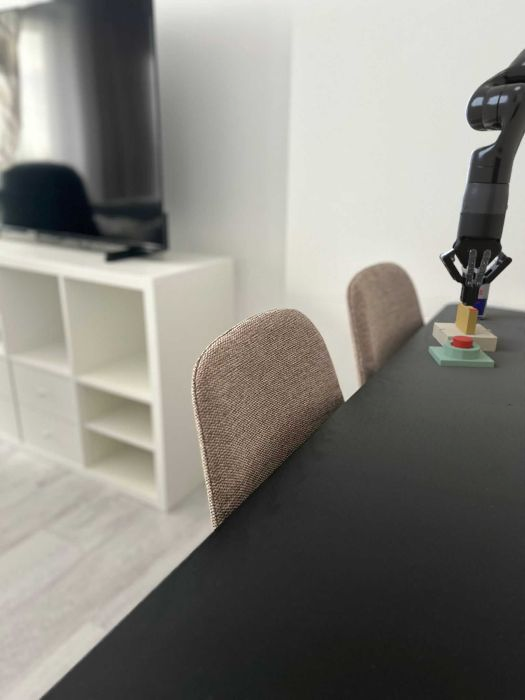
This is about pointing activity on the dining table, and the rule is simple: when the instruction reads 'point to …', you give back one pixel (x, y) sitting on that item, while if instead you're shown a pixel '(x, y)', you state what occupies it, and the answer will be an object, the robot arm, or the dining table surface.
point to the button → (462, 342)
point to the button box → (460, 356)
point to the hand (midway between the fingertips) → (467, 305)
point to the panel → (480, 337)
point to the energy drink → (482, 301)
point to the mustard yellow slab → (466, 319)
